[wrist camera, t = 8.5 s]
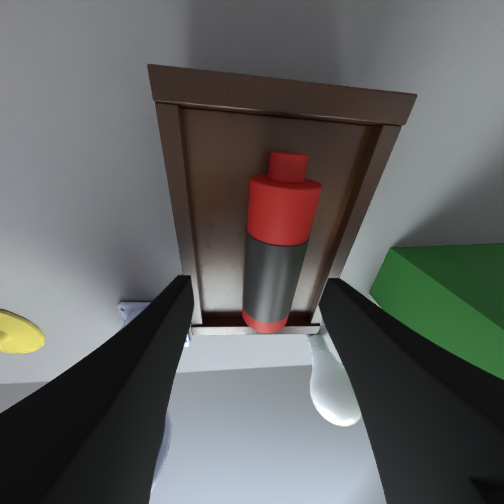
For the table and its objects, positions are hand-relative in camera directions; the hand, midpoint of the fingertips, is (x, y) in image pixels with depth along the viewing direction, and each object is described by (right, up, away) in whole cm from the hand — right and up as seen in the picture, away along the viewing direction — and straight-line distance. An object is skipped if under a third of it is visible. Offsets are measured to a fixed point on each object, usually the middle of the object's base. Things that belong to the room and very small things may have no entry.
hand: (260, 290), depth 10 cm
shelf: (0, +6, +9) cm, 10 cm away
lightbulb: (+10, -12, +20) cm, 25 cm away
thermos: (+1, +2, +4) cm, 4 cm away
